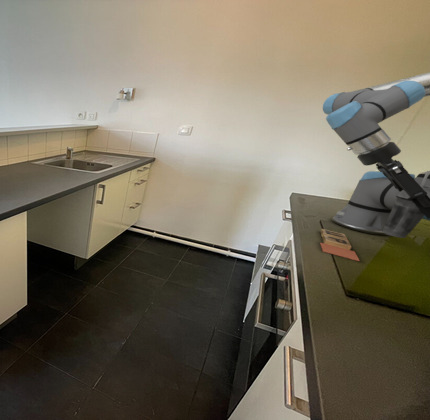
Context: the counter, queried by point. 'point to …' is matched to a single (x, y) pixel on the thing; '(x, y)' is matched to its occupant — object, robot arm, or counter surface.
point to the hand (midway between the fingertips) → (429, 212)
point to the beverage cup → (404, 214)
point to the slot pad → (339, 251)
